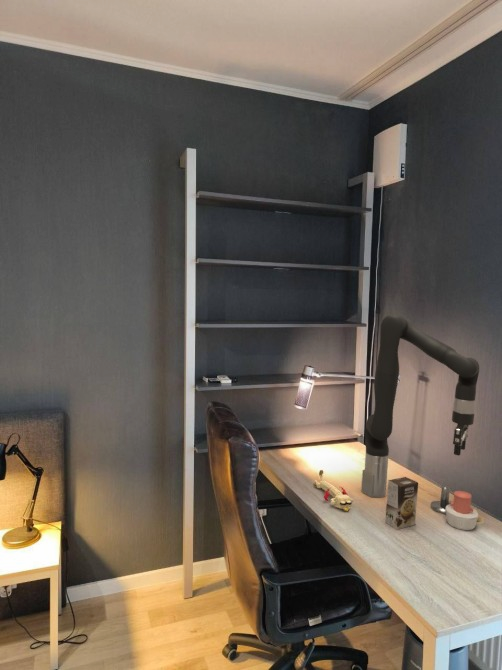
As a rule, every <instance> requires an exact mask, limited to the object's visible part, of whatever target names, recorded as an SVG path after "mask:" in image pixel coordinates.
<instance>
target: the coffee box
mask: <svg viewBox="0 0 502 670" xmlns="http://www.w3.org/2000/svg"><path fill="white" fill-rule="evenodd" d="M418 490H419V482H418V481H416V480H415V479H411V478H410V477H408V476H403V477H399V478H394V479H387V491H386V504H385V505H386V507H385V521H384V522H385V523H386V524H388V525H389V526H391V527H393V529H395V530H401V529H405V528H408V527H411V526H415V525H416V516H417V506H418V505H417V504H418V503H417V502H418V492H419V491H418Z"/></svg>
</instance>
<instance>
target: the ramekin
mask: <svg viewBox="0 0 502 670" xmlns="http://www.w3.org/2000/svg"><path fill="white" fill-rule="evenodd" d="M450 505H451V504H450ZM450 505H447V506H446V508H445V510H446V521H447V523H448V524H449V525H450V526H451V527H453V528H456V529H459V530H462V531H463V530H464V531H470V530H473V529H474V528H476V525H477V521H478V519H479V513H478V511H477V510H476V509H474V508H473V512H471V511H470V512H469V514H462V513H458V512H456V511H455V510H453V507H452V506H450Z"/></svg>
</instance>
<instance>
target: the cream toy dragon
mask: <svg viewBox="0 0 502 670" xmlns="http://www.w3.org/2000/svg"><path fill="white" fill-rule="evenodd" d="M323 474H324V470H323V469H320V470H319V472H318V476H319V478H320V481H318V480H317V479H316V480H314V483H313V484H312V485H314V486H313V487H315V486H316V487H315V488H317V489H321V488H322V489H321V490H324V492H325V493H324V495H323V499H324V500H325V501H328V502H329V496H332V498H331V499H330V505H333V507H335V508H338V509H342V510H343V511H349V510H350V509H351V506H352V503H353V502H354V499H353V498H351V496H349V494H348V492H347V491H346V489H344V487H341V486H339V488H341V490H342V492H341V491H340V490H339V489H338V488H337V487H336V486H334V485H333V484H331V482H328V481H326V479H324V477H323V476H324V475H323Z"/></svg>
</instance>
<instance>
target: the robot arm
mask: <svg viewBox="0 0 502 670" xmlns="http://www.w3.org/2000/svg"><path fill="white" fill-rule="evenodd" d="M379 334H380V335H379V337H380V338H379V351H378V355H377V361H376V368H375V373H374V379H373V381H374V383H373V390H374V400H375V401H374V403H375V404H374V411H373V413H372V414H370V416H368V418H367V419H366V423H365V430H364V431H365V434H364V435H365V436H364V437H365V439H364V443H365V444H364V445H365V458H364V459H365V461H364V469H363V470H362V475H361V476H362V477H361V491H360V492H362V493H364V494H365V495H366V496H368V497H370V498H383V497H385V496H387V485H388V467H389V456H390V455H389V453H390V449H389V443H388V439H389V438H390V436H391V435H392V432H393V426H394V425H393V423H394V422H393V418H394V417H393V416H394V406H395V405H394V404H395V402H396V401H395V400H396V394H397V389H398V384H399V383H398V382H399V375H400V362H399V345H400V341H401V339H402V340H403V341H406V342H408V343H409V344H412V345H413V346H414V347H416V348H418V349H419V350H420V351H421V352H423V353H424V354H426V355H427V356H428V357H430V358H432V359H433V360H435V361H437V362H439V363H440V364H442V365H444V366H446V367H447V368H448V369H450V370H451V371H452V372H453V373H454V374H457V376H458V380H457V383H456V386H455V392H454V399H453V404H452V406H453V407H452V416H451V422H452V423H455V424H457V426H456V427H454V433H453V441H452V445H454V449H453V455H455V456H460V455H461V452H462V451H463V450H465V449H466V445H467V443H466V442H467V440H468V438H469V427H470V426H472V425H474V421H475V411H476V393H477V384H478V383H477V382H478V377H479V374H480V365H479V362H478V361H477V360H476V359H475V358H472V357H466V356H464V355H462V354H460V353H458V351H456V349H454V348H452V347H451V346H449V345H448V344H446V343H444V342H442V341H440V340H439V339H436V338H434V337H433V336H431V335H429V334H428V333H425V332H423V331H422V330H420V329H419V328H418V327H416V326H414V325H413V324H412V323H411V322H409V321H408V320H407V319H405V317H404V316H402V315H401V314H400V315H399V314H387V315H386V316H384V318H382V320H381V323H380V332H379Z"/></svg>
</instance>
